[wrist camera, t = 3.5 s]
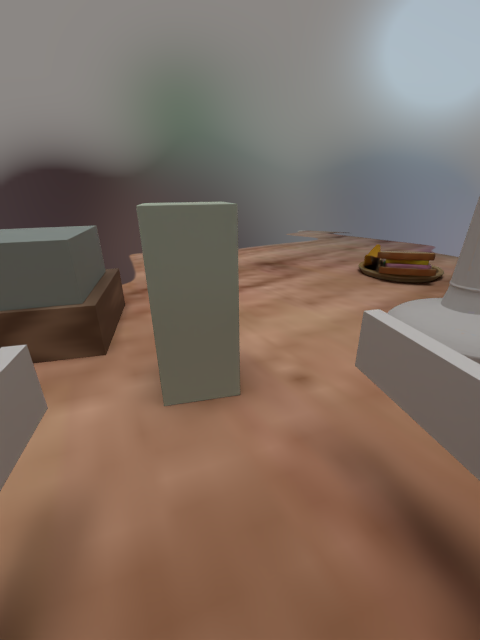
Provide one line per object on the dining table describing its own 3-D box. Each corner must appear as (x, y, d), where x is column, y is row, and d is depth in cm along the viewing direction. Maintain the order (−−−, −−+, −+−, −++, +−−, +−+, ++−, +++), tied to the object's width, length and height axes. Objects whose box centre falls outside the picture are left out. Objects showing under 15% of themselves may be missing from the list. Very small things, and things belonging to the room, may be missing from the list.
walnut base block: (-72, 381, 23) (-103, 321, 21) (8, 318, 35) (-7, 276, 33) (107, 360, 26) (94, 305, 24) (125, 307, 37) (118, 268, 35)
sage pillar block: (164, 406, 19) (136, 205, 14) (164, 365, 24) (143, 203, 19) (240, 394, 20) (237, 204, 15) (227, 358, 25) (221, 201, 20)
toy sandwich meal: (443, 271, 51) (450, 243, 49) (439, 291, 41) (449, 257, 39) (366, 263, 57) (370, 238, 56) (347, 279, 47) (351, 249, 45)
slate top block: (-82, 318, 22) (-116, 248, 20) (-6, 279, 31) (-23, 230, 29) (82, 303, 24) (66, 239, 22) (105, 271, 34) (96, 225, 32)
